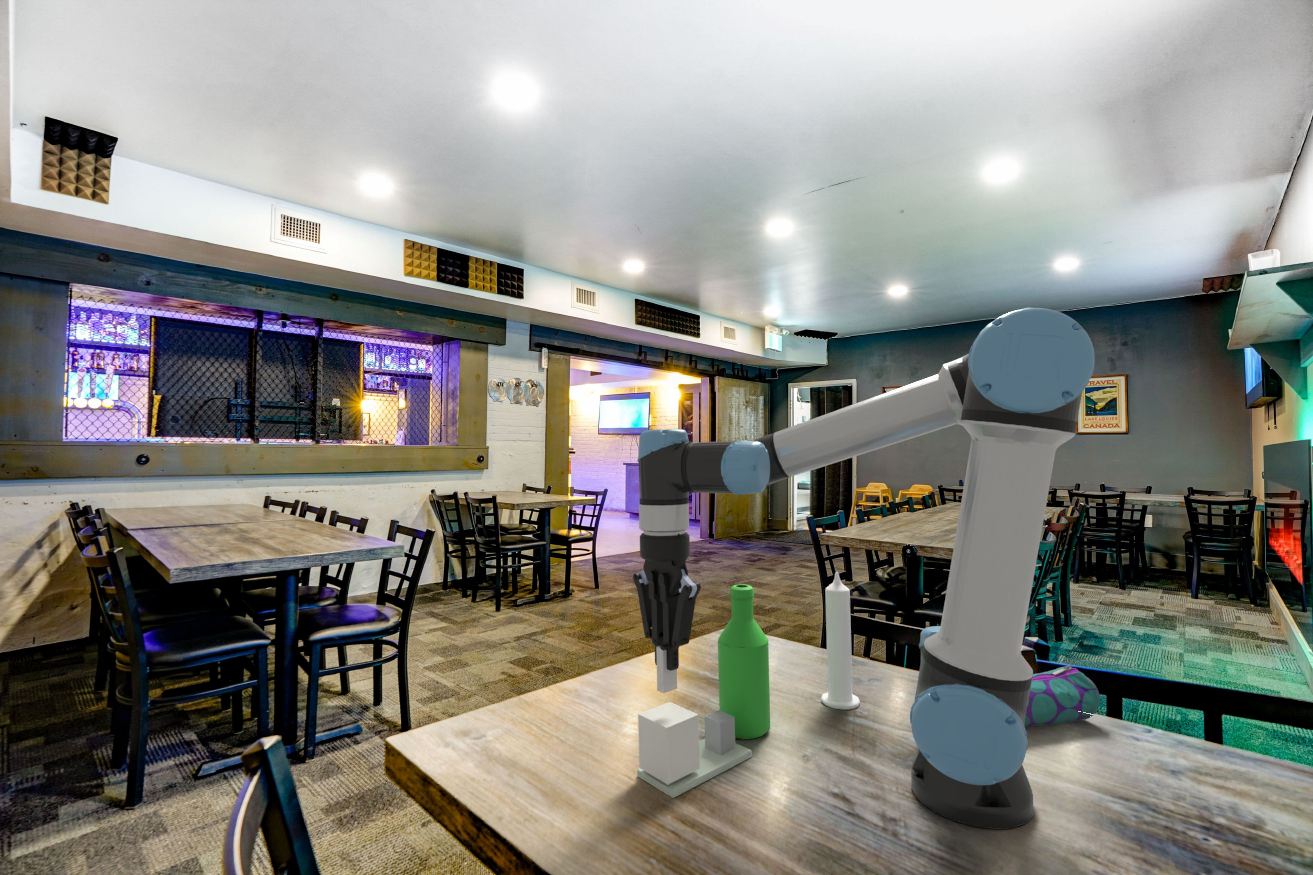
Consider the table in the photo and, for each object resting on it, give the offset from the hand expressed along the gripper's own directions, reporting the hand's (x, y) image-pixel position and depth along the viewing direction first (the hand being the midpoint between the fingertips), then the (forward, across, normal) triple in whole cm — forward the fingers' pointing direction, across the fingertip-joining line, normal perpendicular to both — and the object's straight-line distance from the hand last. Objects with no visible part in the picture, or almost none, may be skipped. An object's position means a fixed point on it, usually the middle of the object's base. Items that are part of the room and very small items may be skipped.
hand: (667, 689), depth 92 cm
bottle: (+14, +3, -21) cm, 25 cm away
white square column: (+12, 0, 0) cm, 12 cm away
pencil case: (+13, -30, -59) cm, 67 cm away
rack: (+13, 0, -6) cm, 14 cm away
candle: (+13, -2, -43) cm, 45 cm away
